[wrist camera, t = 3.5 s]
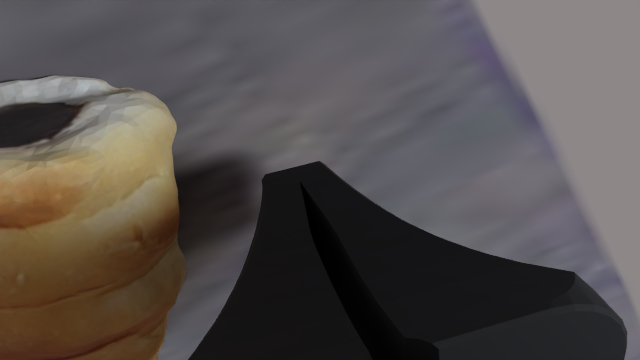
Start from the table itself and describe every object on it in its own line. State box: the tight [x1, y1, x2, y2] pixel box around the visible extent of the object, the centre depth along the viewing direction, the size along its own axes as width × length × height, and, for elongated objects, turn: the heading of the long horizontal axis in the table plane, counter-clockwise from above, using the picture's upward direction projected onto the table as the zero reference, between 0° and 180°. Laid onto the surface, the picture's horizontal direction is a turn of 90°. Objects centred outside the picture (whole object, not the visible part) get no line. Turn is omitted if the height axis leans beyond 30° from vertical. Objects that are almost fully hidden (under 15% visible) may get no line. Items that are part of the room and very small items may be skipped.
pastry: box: [0, 75, 186, 360], centre depth 12 cm, size 9×7×4 cm
